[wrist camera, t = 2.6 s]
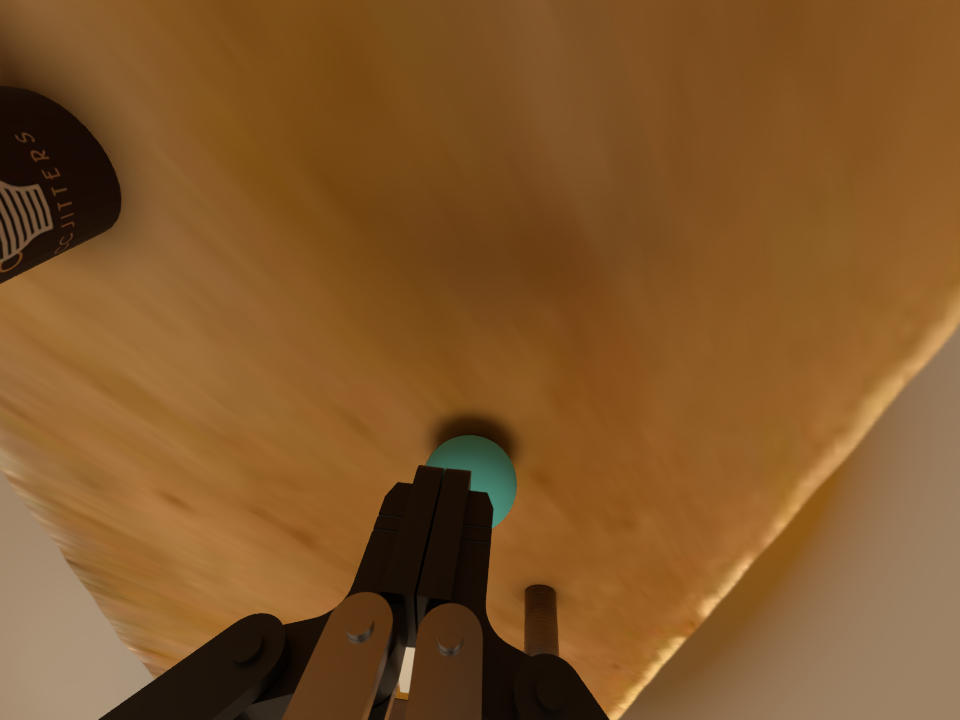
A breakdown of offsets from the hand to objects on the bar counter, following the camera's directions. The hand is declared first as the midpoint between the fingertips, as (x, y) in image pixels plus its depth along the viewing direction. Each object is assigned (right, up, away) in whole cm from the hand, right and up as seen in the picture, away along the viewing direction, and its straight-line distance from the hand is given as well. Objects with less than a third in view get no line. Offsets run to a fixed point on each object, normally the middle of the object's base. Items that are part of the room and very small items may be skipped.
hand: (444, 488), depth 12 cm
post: (+6, -16, +23) cm, 29 cm away
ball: (0, -4, +12) cm, 13 cm away
